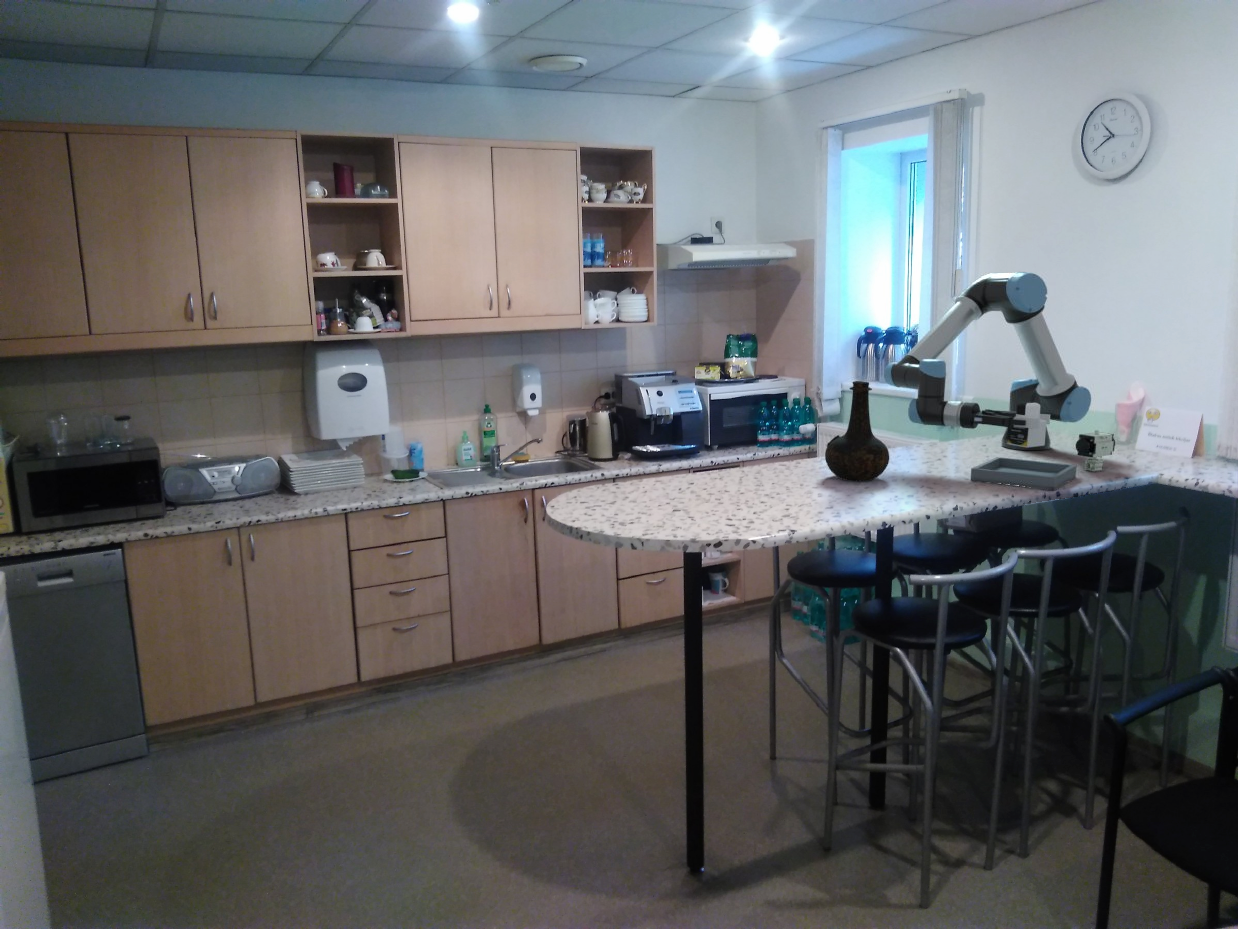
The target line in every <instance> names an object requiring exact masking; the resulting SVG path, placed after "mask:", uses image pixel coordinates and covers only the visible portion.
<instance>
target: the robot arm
mask: <svg viewBox="0 0 1238 929" xmlns="http://www.w3.org/2000/svg"><path fill="white" fill-rule="evenodd" d="M1046 295H1048V287H1047V285H1046V282H1045V281H1044V279H1043V278H1042V277H1041V276H1039V275H1038V274H1036V273H1032V272H1026V271H1018V272H994V273H988V274H985V275H983V276H982V277H980V278H978V279H977V280H975V281H974V282H973V283H972V282H971V284H970V285H969V286H967V287H966V288H965V289H964V290H963V291H962V292H961V293H960V294H959V295H958V296H957V297H956V298H955V300H954V305H953V306H952V307H950V309H949V310H948V311H947V312H946V313H945V314H943V316H942V317H941V318H940V319H939V320H938V321H937V322H936V323H935V324H934V326H932V328H931V329H930V330H928V331H927V333H926V334H925V335H924V336H922V338H921V339H920V340H919V341H917V343H916V344H915V345H914V346H913V347H912V348H911V349H910V350H909V351H908V352H907V353H906V354H905V356H903V357H902V358H901V360H899V361H894V362H893V361H892V362H890V363H888V364H887V365H886V367H885V368H884V372H883V378H884V381H885V382H886V383H887V384H888V385H889V386H893V387H894V388H895V387H896V388H902V389H904V388H905V389H910V390H917V398H913V399H911V400H910V402H909V404H908V405H909V407H908V409H907V415H908V418H909V421H910V422H911V423H913V424H919V425H924V426H935V427H936V426H937V427H939V426H941V427H949V428H950V429H952V430H953V429H955V428H963V429H971V430H974V429H976V428H977V427H978V425H979V424H980V425H986V426H987V425H988V426H995V427H1001V428H1005V430H1004V433H1003V434H1002V435H1003V436H1002V438H1001V446H1002V447H1003V448H1007V449H1011V450H1012V449H1013V450H1020V451H1021V450H1022V451H1044V450H1049V449H1051V438H1050V434H1049V430H1048V428H1047V427H1048V426H1047V425H1050V422H1051V421H1056V422H1062V423H1073V424H1074V423H1077V422H1080V421H1081V420H1083V419H1084V417H1085V416H1086V415H1087V414H1088V412H1089V410H1090V407H1091V403H1092V395H1091V391H1090V390H1089V389H1088V388H1087V387H1085V386H1082V385H1081V386H1079V385H1078V382H1077V380H1076V378H1075V376H1074V375H1073V374H1071V373H1069V372H1067V370H1066V368H1065V365H1064V363H1063V361H1062V357H1061V356H1060V354H1059V351H1058V349H1057V347H1056V346H1057V345H1056V344H1055V340H1054V338H1053V336H1052V334H1051V332H1050V331H1051V330H1050V329H1049V327H1048V324H1047V322H1046V320H1045V318H1044V315H1043V312H1044V310H1045V308H1046V306H1045V304H1046V302H1047V301H1048V300H1047V299H1048V297H1047V296H1046ZM990 312H1001V313H1002V315H1003V317H1004V320H1005V322H1006V323H1007V324H1008V325H1012V326H1013V327H1014V330H1015V331H1016V334H1017V337H1018V338H1019V341H1020V343H1021V346H1022V347H1023V350H1024V353H1025V354H1026V357H1027V359H1028V362H1029V365H1030V366H1031V368H1032V370H1033V373H1034V375H1035V377H1036V378H1028V379H1015V380H1014V381H1013V382H1012V383H1011V387H1010V390H1009V391H1010V392H1009V407H1008V408H1009V410H999V409H998V410H995V409H990V408H989V409H983V410H981V408H980V405H979V403H977V402H968V401H966V402H963V401H957V400H956V401H955V400H945V392H946V391H945V390H946V377H947V370H946V369H947V368H946V366H947V363H946V361H945V360H944V359H938V357H940V356H941V354H942V353H943V352H945V350H946V349H947V348H948V347H949V346H950V345H951V344H952V343H953V342H954V341H955V340H956V339H957V338H958V337H959V336H960V335H961V333H963V332H964V330H966V328H968V327H969V325H970V324H971V323H972V322H973V321H977V320H979V319H981V318H982V316H984V315H985V314H988V313H990ZM1020 402H1034V403H1038V404H1040V417H1039V418H1026V417H1016V409H1017V404H1018V403H1020ZM1040 420H1045V421H1046V434H1045V445H1044V446H1037V447H1028V448H1026V447H1021V446H1015V445H1010V444H1007V433H1008V426H1009V429H1013V425H1014V427H1024V428H1035V429H1039V425H1040Z"/></svg>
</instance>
